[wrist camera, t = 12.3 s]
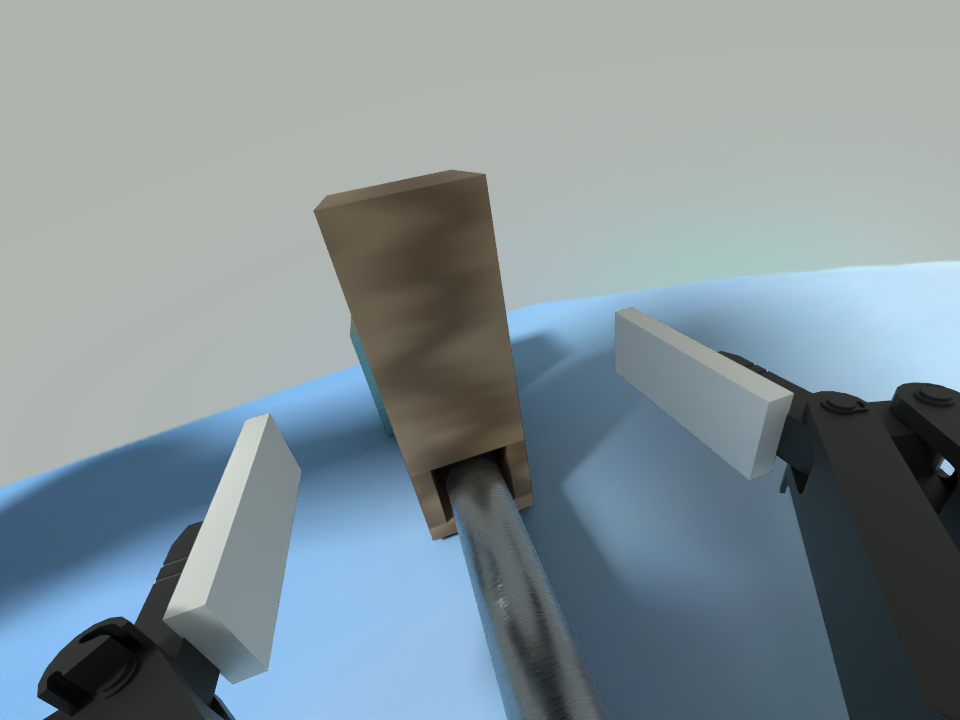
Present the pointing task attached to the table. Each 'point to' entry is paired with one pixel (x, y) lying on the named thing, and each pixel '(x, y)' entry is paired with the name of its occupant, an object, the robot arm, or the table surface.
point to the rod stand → (512, 593)
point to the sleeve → (432, 325)
